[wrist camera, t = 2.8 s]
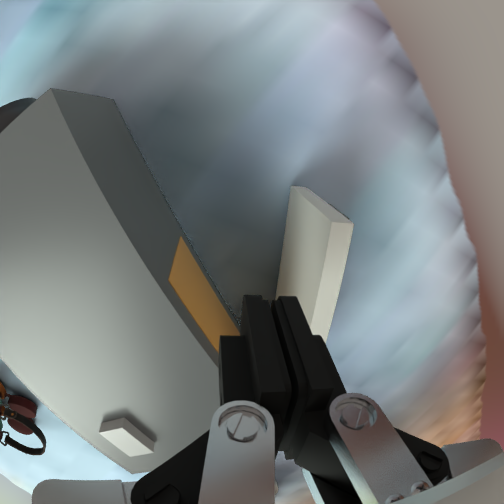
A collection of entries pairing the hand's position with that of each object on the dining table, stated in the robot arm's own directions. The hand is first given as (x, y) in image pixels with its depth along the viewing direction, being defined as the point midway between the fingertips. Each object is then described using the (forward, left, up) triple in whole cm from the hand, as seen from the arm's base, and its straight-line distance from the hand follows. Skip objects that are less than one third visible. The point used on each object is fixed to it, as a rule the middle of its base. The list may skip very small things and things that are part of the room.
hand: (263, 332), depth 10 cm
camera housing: (+1, +9, -11) cm, 14 cm away
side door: (-6, -1, -11) cm, 12 cm away
